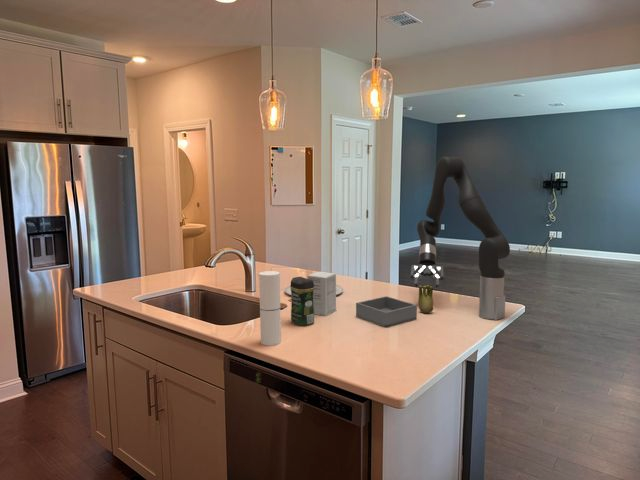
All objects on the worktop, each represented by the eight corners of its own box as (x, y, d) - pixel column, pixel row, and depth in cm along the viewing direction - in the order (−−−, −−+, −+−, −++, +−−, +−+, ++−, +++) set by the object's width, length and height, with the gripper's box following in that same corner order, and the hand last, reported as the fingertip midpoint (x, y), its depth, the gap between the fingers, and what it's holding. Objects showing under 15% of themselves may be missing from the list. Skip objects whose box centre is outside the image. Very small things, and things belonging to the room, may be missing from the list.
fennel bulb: (416, 312, 192) (417, 285, 191) (423, 310, 196) (423, 283, 194) (428, 315, 188) (429, 287, 187) (434, 312, 192) (435, 285, 190)
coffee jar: (287, 321, 181) (286, 277, 178) (303, 317, 186) (303, 274, 183) (301, 327, 173) (300, 281, 171) (317, 323, 178) (317, 278, 176)
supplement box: (318, 307, 200) (318, 271, 198) (336, 310, 196) (336, 273, 193) (307, 313, 192) (306, 275, 190) (325, 316, 187) (325, 277, 185)
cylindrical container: (262, 346, 154) (260, 275, 151) (259, 339, 161) (257, 271, 158) (282, 344, 156) (281, 274, 153) (279, 337, 163) (277, 270, 159)
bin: (416, 319, 183) (416, 305, 182) (385, 327, 173) (385, 312, 172) (386, 309, 197) (386, 296, 196) (356, 316, 187) (356, 302, 186)
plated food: (273, 291, 231) (273, 285, 230) (319, 283, 249) (319, 277, 248) (307, 304, 207) (307, 297, 207) (355, 293, 225) (355, 287, 225)
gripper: (411, 250, 203) (409, 281, 194) (444, 251, 200) (443, 282, 190) (411, 260, 209) (410, 289, 200) (443, 261, 206) (443, 291, 196)
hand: (426, 286), depth 195 cm, fingers open, 8 cm apart
